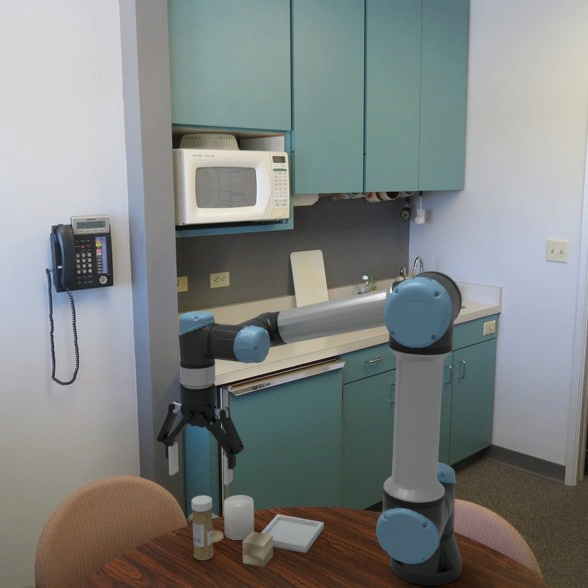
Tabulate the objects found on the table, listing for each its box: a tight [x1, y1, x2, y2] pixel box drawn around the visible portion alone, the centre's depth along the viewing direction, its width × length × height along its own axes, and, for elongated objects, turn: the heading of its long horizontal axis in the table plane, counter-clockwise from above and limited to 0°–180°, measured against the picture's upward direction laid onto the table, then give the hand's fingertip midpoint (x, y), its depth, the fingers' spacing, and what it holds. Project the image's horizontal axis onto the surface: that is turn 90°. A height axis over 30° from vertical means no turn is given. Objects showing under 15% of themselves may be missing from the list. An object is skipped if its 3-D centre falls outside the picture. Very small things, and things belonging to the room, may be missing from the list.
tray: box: [260, 513, 325, 554], centre depth 162 cm, size 12×12×2 cm
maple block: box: [242, 531, 274, 568], centre depth 152 cm, size 5×5×5 cm
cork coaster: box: [213, 529, 225, 544], centre depth 162 cm, size 5×5×1 cm
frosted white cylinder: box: [223, 494, 255, 541], centre depth 164 cm, size 8×7×8 cm
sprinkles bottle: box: [191, 495, 215, 561], centre depth 153 cm, size 5×5×14 cm
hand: (200, 477), depth 152 cm, fingers open, 13 cm apart
